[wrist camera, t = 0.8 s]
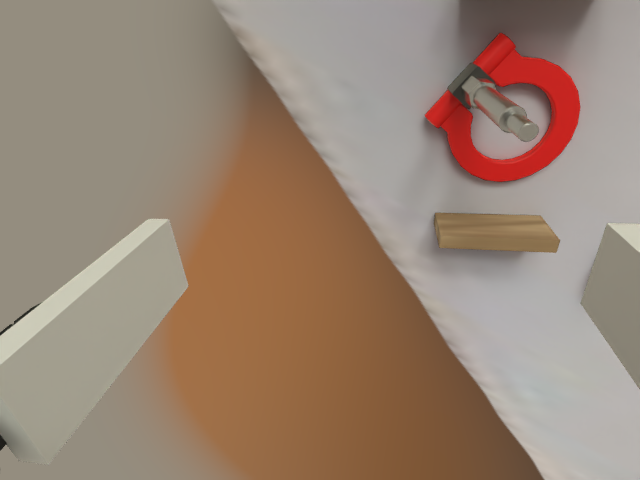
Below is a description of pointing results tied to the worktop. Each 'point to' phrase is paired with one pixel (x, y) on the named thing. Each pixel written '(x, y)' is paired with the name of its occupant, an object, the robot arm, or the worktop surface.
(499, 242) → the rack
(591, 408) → the worktop surface
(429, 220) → the worktop surface
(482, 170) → the tow hook
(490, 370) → the worktop surface
